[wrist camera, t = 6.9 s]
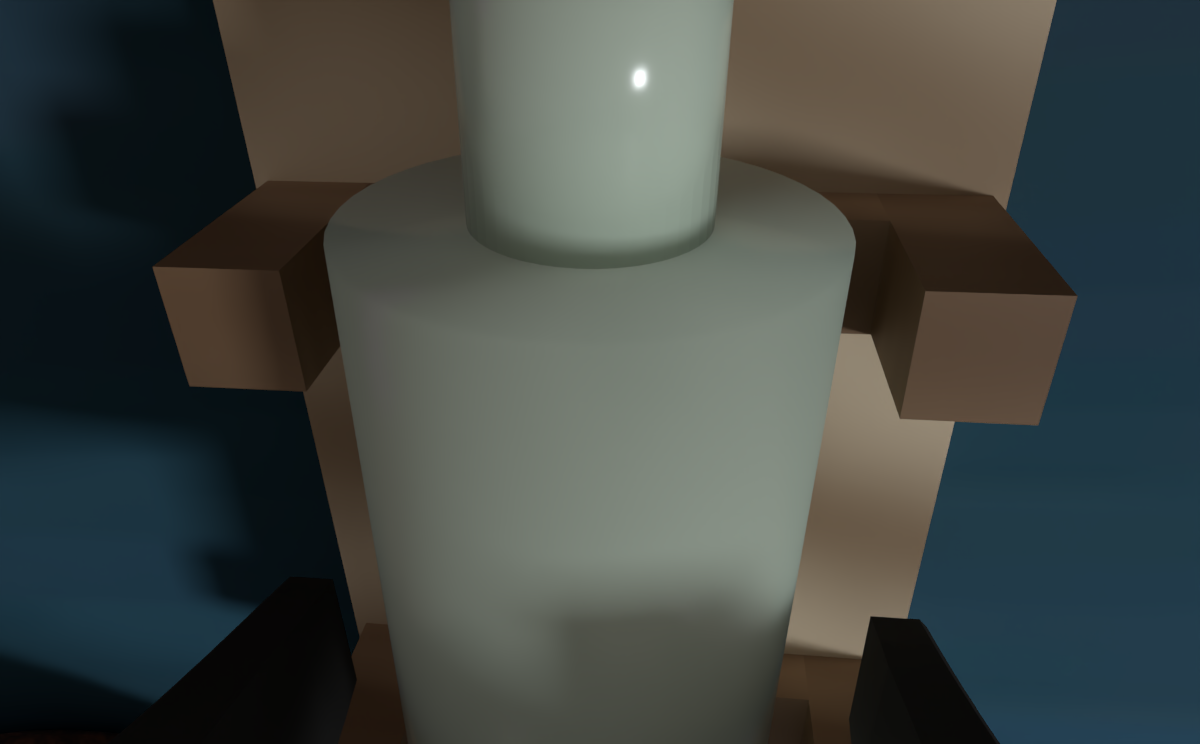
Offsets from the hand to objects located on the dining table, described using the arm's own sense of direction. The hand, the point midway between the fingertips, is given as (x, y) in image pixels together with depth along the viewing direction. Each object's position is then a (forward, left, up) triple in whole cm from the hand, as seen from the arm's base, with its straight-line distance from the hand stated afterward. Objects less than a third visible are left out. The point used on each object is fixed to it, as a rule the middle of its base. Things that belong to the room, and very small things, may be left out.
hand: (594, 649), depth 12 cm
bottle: (+2, 0, -2) cm, 3 cm away
